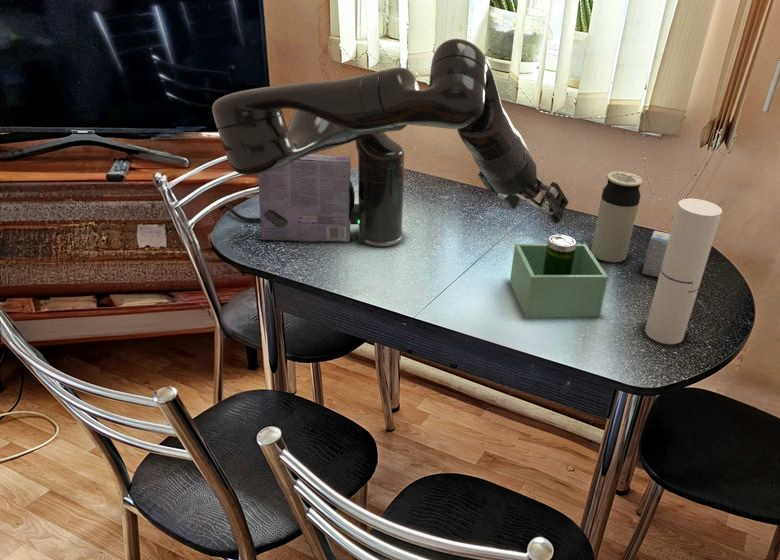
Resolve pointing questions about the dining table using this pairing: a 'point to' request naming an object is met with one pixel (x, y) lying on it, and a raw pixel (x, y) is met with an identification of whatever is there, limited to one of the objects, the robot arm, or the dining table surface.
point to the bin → (557, 284)
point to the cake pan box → (307, 200)
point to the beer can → (559, 255)
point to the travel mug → (616, 216)
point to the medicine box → (655, 253)
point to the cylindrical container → (682, 269)
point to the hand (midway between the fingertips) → (536, 211)
